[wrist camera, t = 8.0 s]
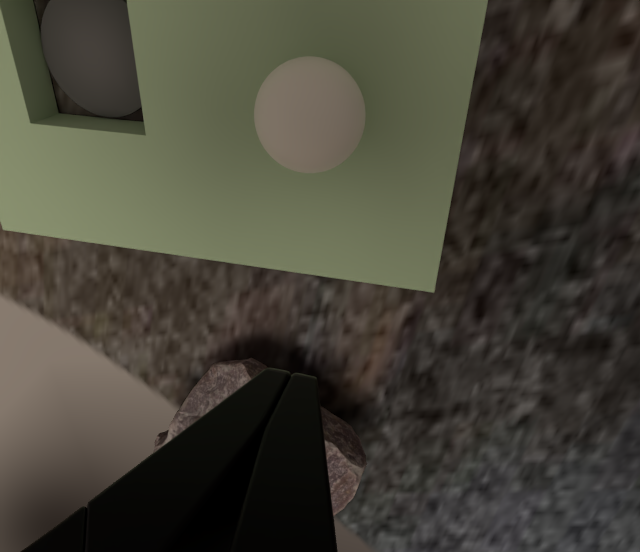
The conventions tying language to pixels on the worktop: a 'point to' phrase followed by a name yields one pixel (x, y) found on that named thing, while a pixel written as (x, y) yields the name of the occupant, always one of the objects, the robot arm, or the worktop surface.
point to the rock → (339, 435)
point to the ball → (309, 114)
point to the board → (235, 130)
